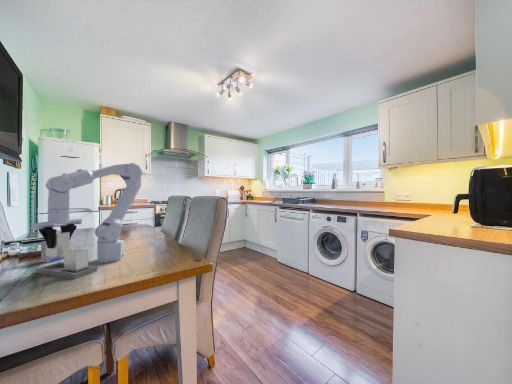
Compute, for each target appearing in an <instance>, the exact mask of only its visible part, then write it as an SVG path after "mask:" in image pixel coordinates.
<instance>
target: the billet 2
mask: <svg viewBox="0 0 512 384" xmlns="http://www.w3.org/2000/svg"><path fill="white" fill-rule="evenodd" d="M63 262H64V271H66V272H72V273H77V272H80V271H83V270H86V269H88V266H89V249H84V248H74V249H70V250H69V251H65V253H64V259H63Z"/></svg>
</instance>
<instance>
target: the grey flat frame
mask: <svg viewBox="0 0 512 384" xmlns="http://www.w3.org/2000/svg"><path fill="white" fill-rule="evenodd" d="M97 271H98V266H93V265H88V269H86V270H83V271H80V272H77V273H72V272H66V271H64V261H59V262H55V263H54V262H53V263H51V264H48V265H44V266H41V267H40V266H39V267H37V268H35V273H36V274H41V275H47V276H52V277H53V276H54V277H59V278H66V279H73V280H77V279H79V278H82V277H85V276H87V275H91V274H93V273H96V272H97Z"/></svg>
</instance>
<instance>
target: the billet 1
mask: <svg viewBox="0 0 512 384" xmlns="http://www.w3.org/2000/svg"><path fill="white" fill-rule="evenodd" d="M70 241H71V238H70V232H61V230H59V231H56V234H55V240H54V248H52V249H51V248H47V244H46V256H54V257H58V256H62V255H64V253H65V251H69V250H71V248H70V246H71V245H70Z"/></svg>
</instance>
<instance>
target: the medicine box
mask: <svg viewBox="0 0 512 384" xmlns="http://www.w3.org/2000/svg"><path fill="white" fill-rule="evenodd" d="M40 248H41V249H40V262H41V263H54V262H56V261H60V260H64V255H62V256H58V257H54V256H46V241H45V240H44V241H41V243H40Z"/></svg>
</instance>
